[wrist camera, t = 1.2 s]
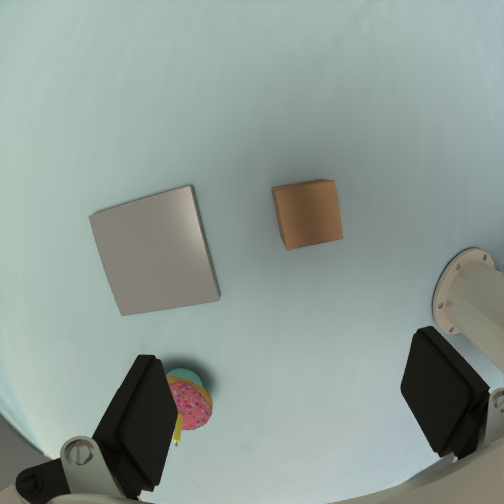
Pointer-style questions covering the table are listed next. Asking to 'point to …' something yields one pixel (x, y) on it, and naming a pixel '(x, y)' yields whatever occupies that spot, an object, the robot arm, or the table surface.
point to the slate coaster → (156, 253)
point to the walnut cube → (308, 213)
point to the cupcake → (189, 400)
